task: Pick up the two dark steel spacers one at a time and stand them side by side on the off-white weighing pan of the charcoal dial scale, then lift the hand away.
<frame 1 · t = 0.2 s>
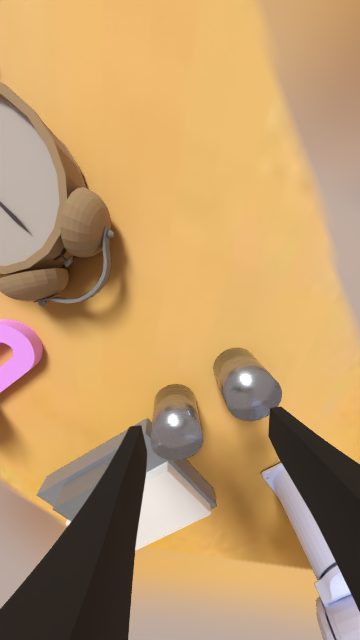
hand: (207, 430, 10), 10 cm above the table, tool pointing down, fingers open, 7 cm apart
steel spacer 2: (234, 367, 20), on the table
steel spacer 1: (175, 401, 21), on the table
alarm clock: (41, 220, 15), on the table
scale: (134, 482, 25), on the table
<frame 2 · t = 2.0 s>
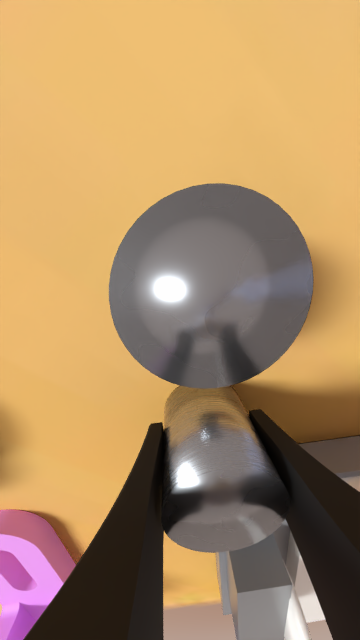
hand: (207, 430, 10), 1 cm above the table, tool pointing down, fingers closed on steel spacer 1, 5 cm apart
steel spacer 2: (191, 282, 9), on the table
bracket: (38, 552, 15), on the table
steel spacer 1: (202, 410, 11), on the table, touching gripper
scale: (307, 512, 15), on the table
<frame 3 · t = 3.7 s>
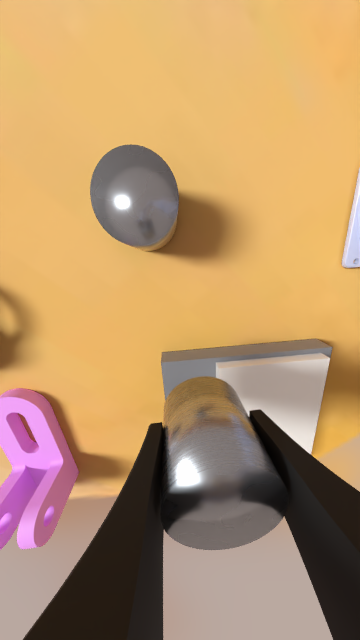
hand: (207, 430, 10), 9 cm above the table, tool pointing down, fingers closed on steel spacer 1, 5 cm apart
steel spacer 2: (147, 219, 15), on the table
bracket: (39, 433, 21), on the table
steel spacer 1: (201, 409, 12), point 7 cm above the table, touching gripper
scale: (238, 408, 21), on the table
when the fingers open (6 cm above the table, at t = 5.6 s): steel spacer 1 drops 1 cm, resting on scale.
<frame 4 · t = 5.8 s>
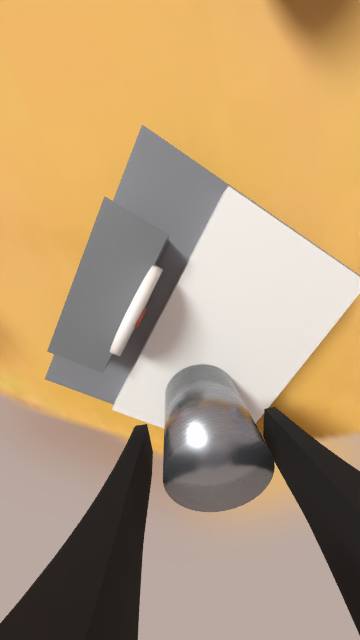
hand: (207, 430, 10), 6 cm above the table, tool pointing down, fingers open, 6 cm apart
steel spacer 1: (200, 394, 13), point 3 cm above the table, touching scale
scale: (197, 322, 14), on the table
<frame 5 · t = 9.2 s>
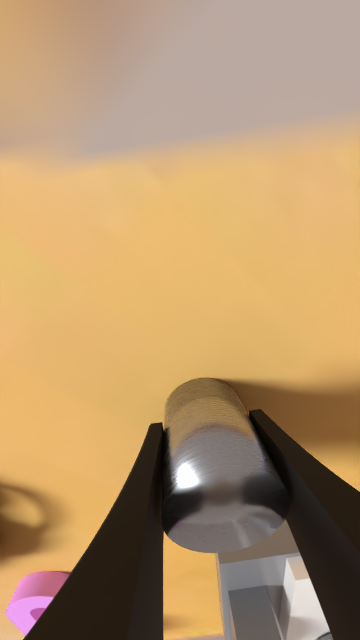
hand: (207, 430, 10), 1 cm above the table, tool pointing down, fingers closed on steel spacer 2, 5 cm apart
steel spacer 2: (202, 410, 11), on the table, touching gripper
bracket: (67, 600, 18), on the table
scale: (299, 564, 18), on the table
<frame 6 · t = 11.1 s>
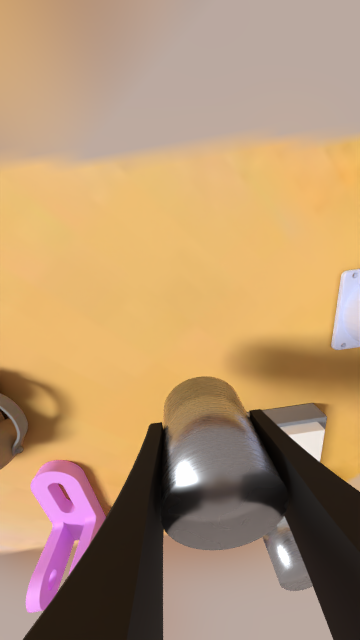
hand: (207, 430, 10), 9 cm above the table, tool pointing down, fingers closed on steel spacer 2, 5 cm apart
steel spacer 2: (201, 409, 12), point 7 cm above the table, touching gripper
bracket: (73, 492, 24), on the table
steel spacer 1: (273, 508, 22), point 3 cm above the table, touching scale
scale: (246, 461, 24), on the table
when the fingers open (6 cm above the table, at t = 13.0 s): steel spacer 2 drops 1 cm, resting on scale.
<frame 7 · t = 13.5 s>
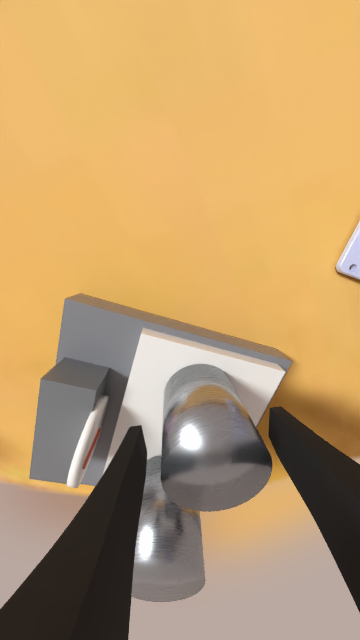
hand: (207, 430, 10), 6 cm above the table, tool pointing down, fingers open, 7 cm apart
steel spacer 2: (198, 394, 13), point 3 cm above the table, touching scale
steel spacer 1: (166, 476, 15), point 3 cm above the table, touching scale
scale: (158, 405, 16), on the table
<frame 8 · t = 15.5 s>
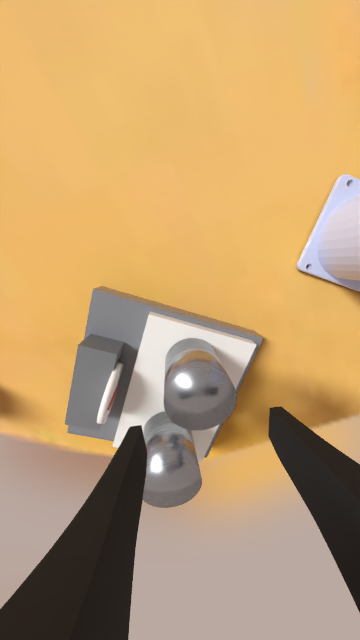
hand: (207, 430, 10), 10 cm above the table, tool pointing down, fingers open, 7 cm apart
steel spacer 2: (191, 362, 17), point 3 cm above the table, touching scale
steel spacer 1: (167, 429, 19), point 3 cm above the table, touching scale
scale: (160, 376, 20), on the table
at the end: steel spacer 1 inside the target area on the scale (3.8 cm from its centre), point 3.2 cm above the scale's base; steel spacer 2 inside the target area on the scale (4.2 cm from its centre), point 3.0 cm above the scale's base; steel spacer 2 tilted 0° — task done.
